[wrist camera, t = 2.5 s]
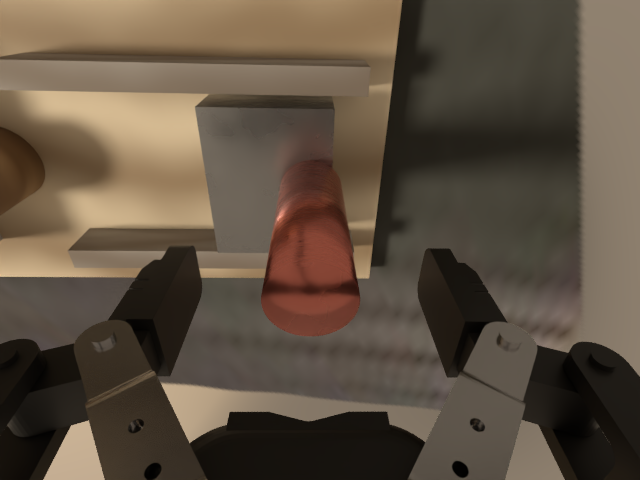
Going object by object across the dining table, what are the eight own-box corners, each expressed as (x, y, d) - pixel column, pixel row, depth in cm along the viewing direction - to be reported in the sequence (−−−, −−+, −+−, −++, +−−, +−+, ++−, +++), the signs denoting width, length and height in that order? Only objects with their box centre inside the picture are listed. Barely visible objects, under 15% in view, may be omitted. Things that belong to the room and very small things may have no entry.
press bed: (-222, -21, 16) (-470, -32, 11) (397, -4, 17) (434, -8, 12) (-40, 265, 25) (-132, 333, 20) (366, 267, 26) (380, 333, 21)
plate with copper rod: (211, 92, 18) (107, 185, 9) (341, 95, 18) (372, 188, 9) (228, 224, 22) (169, 381, 13) (334, 225, 22) (351, 380, 13)
